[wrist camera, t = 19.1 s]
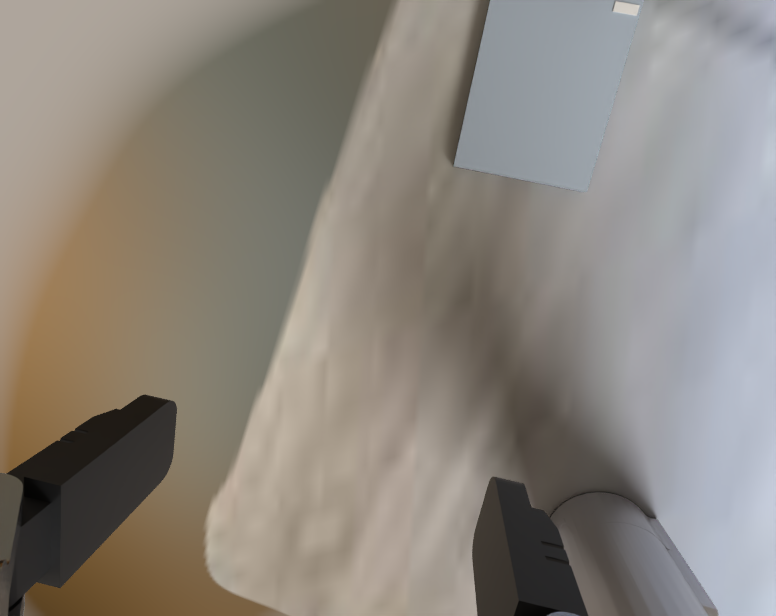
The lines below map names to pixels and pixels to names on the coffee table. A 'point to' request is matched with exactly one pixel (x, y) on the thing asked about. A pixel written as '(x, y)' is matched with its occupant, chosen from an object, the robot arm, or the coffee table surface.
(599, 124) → the wall panel
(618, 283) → the coffee table surface
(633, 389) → the coffee table surface
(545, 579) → the robot arm
